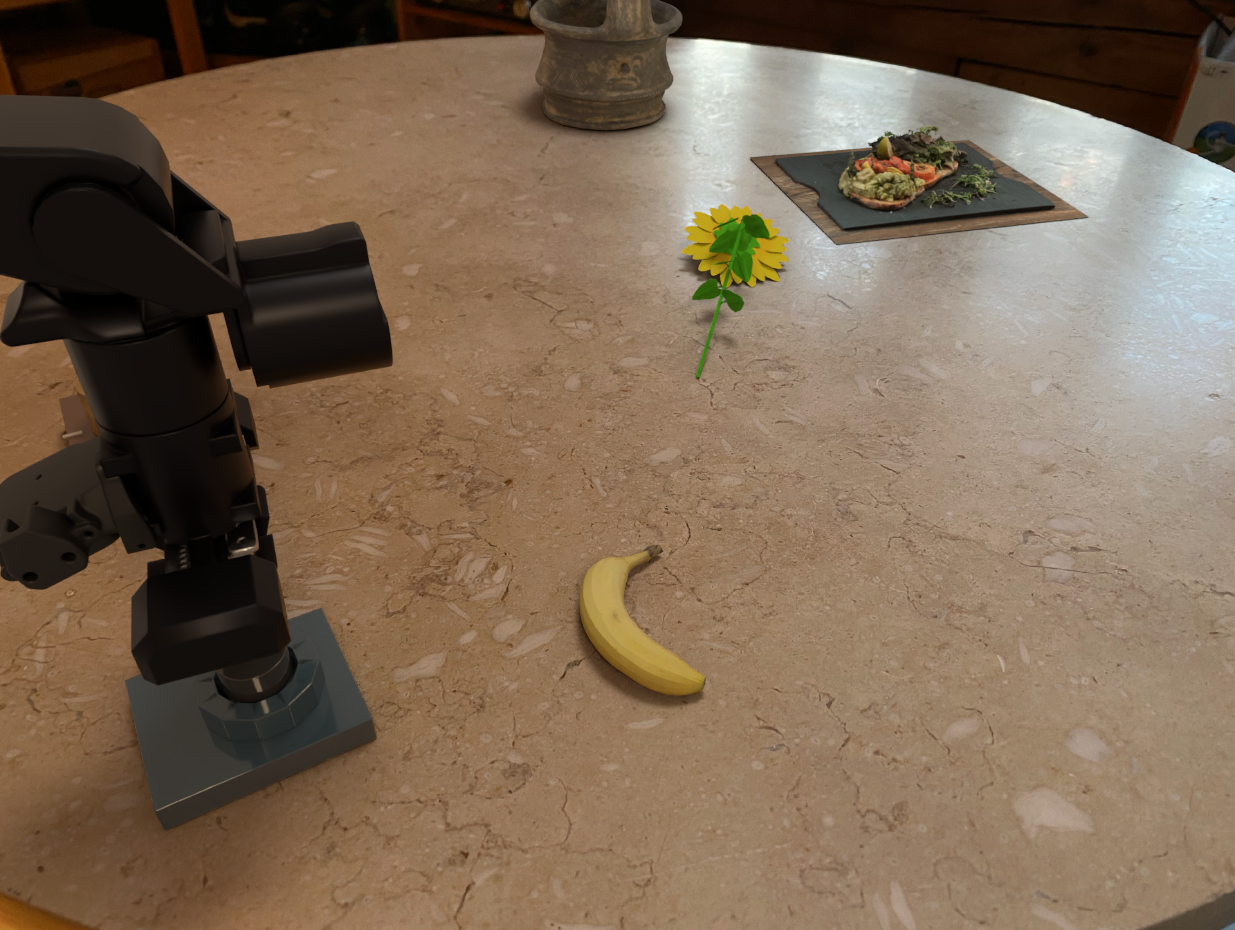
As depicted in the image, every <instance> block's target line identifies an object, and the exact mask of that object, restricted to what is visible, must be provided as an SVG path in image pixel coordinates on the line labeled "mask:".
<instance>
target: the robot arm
mask: <svg viewBox="0 0 1235 930" xmlns="http://www.w3.org/2000/svg"><path fill="white" fill-rule="evenodd" d="M0 276H2V277H7V278H11V279H14V280H20V281H21V282H20V283H19V284H18V286H17V287H16V288H15V289H14V290H12V292H10V293H9V294H8V296H7V298H6V303H5V306H4V312H3V317H2V321H1V326H0V342H1V343H2V344H3V345H5V346H7V347H10V348H16V347H22V346H23V347H24V346H29V345H35V344H42V343H48V342H54V341H61V340H62V341H63V345H64V346H65V349H66V352H67V353H68V356H69V359H70V361H71V363H72V366H73V369H74V371H75V374H76V377H77V378H78V379H79V381H80V384H81V386H82V389H83V391H84V394H85V396H86V398H87V401H88V403H89V406H90V408H91V411H92V413H93V416H94V418H95V421H96V423H97V427H98V429H99V432H100V434H101V435H99V436H97V437H95V438H92V439H90V440H87V441H85V442H83V443H76V444H73V445H70V446H69V445H67V446H66V447H64V448H62V449H60V450H58V451H56V452H54V453H52V454H50V455H49V456H47V457H45V458H43V459H41V460H38V461H36V462H34V463H32V464H31V465H29V466H27V467H25V468H22V469H21V470H18V471H17V472H15V473H13V474H11V475H9V476H8V477H6V478H5V479H4V480H3V481H2V482H0V577H1V578H2V579H3V580H4V581H7V582H12V583H13V582H18V583H20V584H21V585H22V586H24V587H25V588H26V589H28V590H36V591H37V590H38V591H44V590H47V589H49V588H51V587H53V586H55V585H57V584H59V583H61V582H63V581H65V580H67V579H69V578H71V577H73V576H75V575H77V574H78V573H81V572H82V571H84V570H86V569H87V567H88V565H89V562H90V561H89V560H90V557H91V556H94V554H97V553H98V552H101V551H102V550H104V549H106V548H108V547H110V546H111V545H113V544H114V543H116V542H117V541H118V540H119V539H120V541H121V542H122V544H123V547H124V549H125V551H126V554H128V555H131V554H135V553H140V552H144V551H149V550H153V549H158V550H160V551H162V552H163V554H164V555H163V556H164V557H163V558H160V559H155V560H152V561H147V563H146V576H147V578H146V579H145V580H144V581H143V582H142V583H141V585H140V586H139V588H137V590H136V591H135V592H134V594H132V596H131V599H130V608H131V609H130V616H131V617H130V621H131V622H130V630H131V631H130V634H131V635H130V649H131V650H130V653H131V655H132V657H133V659H134V661H135V663H136V666H137V667H138V670H139V672H140V674H142V676H143V679H144V680H146V681H148V682H151V683H153V684H155V685H158V686H159V685H162V684H166V683H170V682H174V681H177V680H181V679H185V678H189V677H192V676H196V675H200V674H204V673H207V672H211V671H215V670H219V669H222V668H226V667H230V666H234V665H237V664H241V663H245V662H249V661H252V660H256V659H260V658H264V657H268V656H271V655H275V654H279V653H281V651H282V650H283V649H284V648H285V647H286V646H287V645H288V644H289V643H290V642H291V636H290V630H289V624H288V620H289V618H288V613H287V608H286V607H287V606H286V601H285V597H284V593H283V587H282V584H281V579H280V575H279V572H278V569H279V568H278V567H279V565H278V558H277V552H276V546H275V540H274V535H273V533H269V534H268V531H269V525H270V517H271V515H270V509H269V504H268V498H267V491H266V488H265V487H264V486H263V485H260V484H258V483H257V477H256V470H255V463H254V458H253V455H252V451H257V450H260V443H259V439H258V432H257V427H256V422H255V417H254V415H253V411H252V407H251V404H250V400H249V398H248V397H247V396H244V395H242V394H240V393H238V392H237V391H234V387H233V384H232V381H231V378H230V377H229V378H227V377H226V373H225V369H224V366H223V363H222V359H221V356H220V355H221V354H220V352H219V349H218V345H217V341H216V339H215V335H214V332H213V327H212V325H211V321H210V318H209V316H212V315H217V314H222V315H223V318H224V322H225V325H226V329H227V334H228V337H229V342H230V345H231V349H232V353H233V356H234V359H235V363H236V366H237V369H238V371H239V372H245V371H249V370H251V371H252V376H253V379H254V382H255V385H256V387H257V388H261V387H267V386H269V389H275V388H281V387H282V388H283V387H287V386H292V385H293V386H294V385H297V384H302V383H308V382H314V381H319V380H324V379H330V378H336V377H341V376H347V375H352V374H357V373H363V372H368V371H373V370H379V369H384V368H390V367H392V366H393V363H394V355H393V345H392V338H391V331H390V325H389V320H388V318H387V315H386V312H385V310H384V308H383V305H382V303H381V301H380V298H379V294H378V290H377V284H376V281H375V277H374V273H373V270H372V266H371V263H370V257H369V251H368V244H367V241H366V238H365V236H364V233H363V231H362V230H361V226H360V225H359V223H358V222H356V221H354V220H352V221H346V222H339V223H338V222H337V223H331V224H327V225H324V226H322V227H318V228H316V229H313V230H309V231H303V232H295V233H289V234H281V235H274V236H266V237H260V238H253V239H244V240H237V241H236V238H235V232H234V228H233V221H232V220H231V218H230V217H229V216H228V215H227V214H225V213H224V212H223V211H222V210H221V209H219V208H218V207H217V206H215V204H213V203H212V202H211V201H210V200H209V199H208V198H206V197H204V196H203V195H202V194H201V193H200V192H199V191H197V190H196V189H195V188H194V187H192V186H191V185H190V184H189V183H188V182H186V180H184V179H182V178H181V177H180V175H178V174H176V173H175V172H174V171H173V170H172V169H171V166H170V160H169V159H168V156H167V155H166V152H165V150H164V148H163V146H162V144H161V142H160V141H159V139H158V138H157V137H156V136H155V135H154V134H153V133H152V132H151V130H149V128H148V127H147V126H146V125H145V124H144V123H143V122H142V121H140V118H139V117H138V116H137V115H136V114H134V113H133V112H131V111H129V110H127V109H125V108H123V107H122V106H120V105H118V104H115V103H112V102H110V101H105V100H103V99H100V98H96V97H95V98H94V97H84V96H56V95H55V96H54V95H19V94H0ZM78 379H77V380H78Z"/></svg>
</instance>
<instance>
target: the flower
mask: <svg viewBox="0 0 1235 930" xmlns="http://www.w3.org/2000/svg"><path fill="white" fill-rule="evenodd" d="M709 213H710V214H708V213H706V212H702V211H697V210H695V211H693V215H694V217H695V218H692V219H691V220H692V222H693V223H694V224H695V225H688V226H685V227H684V231H685V232H686V233H687V234H688V235H686V237H685V239H686V240H688V241H690V242H693V243H690V244H689V245H688V246H686V247H684V248H683V249H682V250H681V251H680V253H681V254H683V255H687V256H692V260H695V261H696V260H698V261H699V260H701V261H700V263H699V265H698V268H697V269H698V271H699V272H707V271H709V270H710V274H711V276H714V277H715V276H717V275H719V279H720V284H721V285H718V283H719V281H718V280H717V279H716V278H711V277H710V278H708V279H707V280H706V281H704V282H703V283H701V284H700V285H699V286H698V288H697V289H695V292H694V293H693V295H692V297H691V300H692V301H703V300H714V299H717V298H718V300H717V304H716V307H715V311H714V313H713V318H712V321H711V324H710V328H709V331H708V334H707V336H706V337H707V338H706V341H705V344H704V347H703V351H702V354H701V358H700V361H699V364H698V368H697V370H696V374H695V378H696V379H699V380H700V377H701V375H702V370H703V368H704V363H705V360H706V357H707V354H708V351H709V347H710V343H711V340H712V337H713V333H714V330H715V327H716V323H717V320H718V316H719V313H720V310H721V307H722V305H723V304H727V306H728V308H729V309H730V310H731V311H732V312H734V313H738V312H741V311H742V310H743V307H744V306H745V304H746V303H745V301H744V300H743V297H742V296H741V295H739V294H738V293H735V292H734V291H732V290H730V289H728V287H730V286H731V285H732V283H733V281H734V282H735V283H736V284H737V285H739V284H740V283H742V281H743V282H744V283H746V284H747V285H749V287H751V288H753V287H755V286H756V283H757V279H758V280H759V281H762V282H765V280H766V278H768V279H770V280H772V281H776V282H777V283H780V276H779V274H778V273H777V271H776V270H775V269H778V270H781V269H783V267H782V264H781V263H788V262H790V259H789V257H788V256H786V255H785V254H784V253H785V252H787V251H788V248H787V247H786V246H784V245H785V244H788V243H789V242H790V239H789V238H787V237H785V236H782V235H778V234H779V233H780V228H778V227H773V223H774V220H773V219H772V218H763V214H762V213H761V212H756V213H753V212H752V209H751V208H750V206H748V205H746V206H743V207H741V208H740V207H739V206H737V205H734V206H732V208H729V207H728V206H727V205H725V204H723V203H721V204H718V208H715V207H709ZM723 299H724V300H723Z"/></svg>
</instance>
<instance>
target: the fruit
mask: <svg viewBox="0 0 1235 930" xmlns="http://www.w3.org/2000/svg"><path fill="white" fill-rule="evenodd" d="M662 553H664V550H663V548H662V546H661V544H652V545H649V546H647V547H646V548H644V549H643V550H641V551H639V552H637V553H635V554H631V555H628V556H621V557H613V556H609V557H607V556H606V557H605V558H602V559H600V560H599V561H597V562H595V563H594V564H593V565H592V566H590V568H588V569H587V571H586V574H585V576H584V578H583V579H582V582H581V586H580V590H579V615H580V621H581V623H582V626H583V629H584V632H585V633H586V635H587V637H588V639H589V641H590V642H591V643H592V645H593V646H594V648H595V650H597V651H598V653H599V654H600V655H601V656H602V657H603V658H604V659H605V660H606V661H607V662H608V663H609V664H610V665H611V666H612V667H614V668H615V669H617V670H618V671H620V672H621V673H622V674H624V675H625V676H627V677H628V678H629V679H631V680H633V681H634V682H636V683H637V684H639V685H640V686H642V687H644V688H647V689H648V690H650V691H651V692H656V693H659V694H663V695H668V696H686V695H691V694H696V693H702V692H703V690H704V688H705V687H706V681H707V676H706V675H705V674H703V673H701V672H699V671H698V670H696V669H694V668H693V667H691V665H689V664H688V663H687V662H685V661H684V660H683V658H680V657H679V656H677V655H676V654H675V653H673V652H672V651H670V650H668V649H667V648H665V647H663V645H661V644H659V643H658V642H656V641H655V640H653V639H652V637H650V636H649V635H647V634H646V633H645V632H644V631H643V630H642V629H641V628H640V627H639V626H638V625H637V624H636V623H635V622H634V620H633V619H632V618H631V616H630V615H629V612H628V611H627V608H626V605H625V591H626V586H627V582H628V577H629V574H630V572H631V570H632V569H633V568H635V567H638V566H639V565H641V564H644V563H647V562H649V561H650V560H651V559H653V558H655V557H657V556H659V555H660V554H662Z"/></svg>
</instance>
